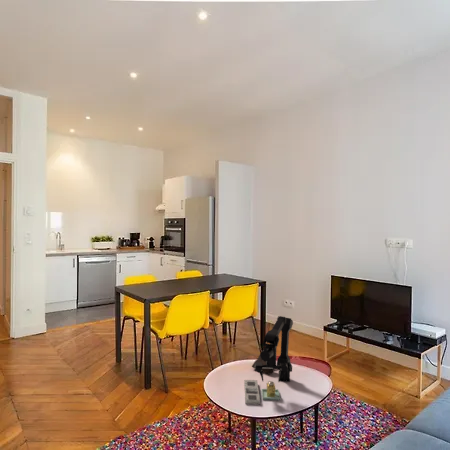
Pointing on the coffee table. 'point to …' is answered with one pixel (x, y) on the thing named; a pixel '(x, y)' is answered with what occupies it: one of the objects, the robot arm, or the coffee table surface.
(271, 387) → the brass block with knob
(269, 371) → the brown rounded lump
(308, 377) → the coffee table surface
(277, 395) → the parts tray
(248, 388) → the grey slotted plate
